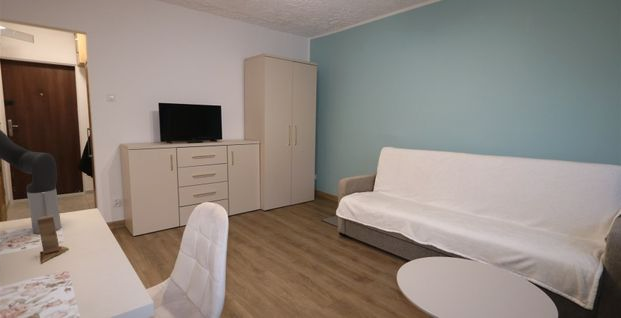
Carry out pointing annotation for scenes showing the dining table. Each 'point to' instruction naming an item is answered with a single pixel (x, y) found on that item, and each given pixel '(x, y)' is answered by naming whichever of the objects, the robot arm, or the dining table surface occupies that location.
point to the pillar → (48, 234)
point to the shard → (52, 254)
